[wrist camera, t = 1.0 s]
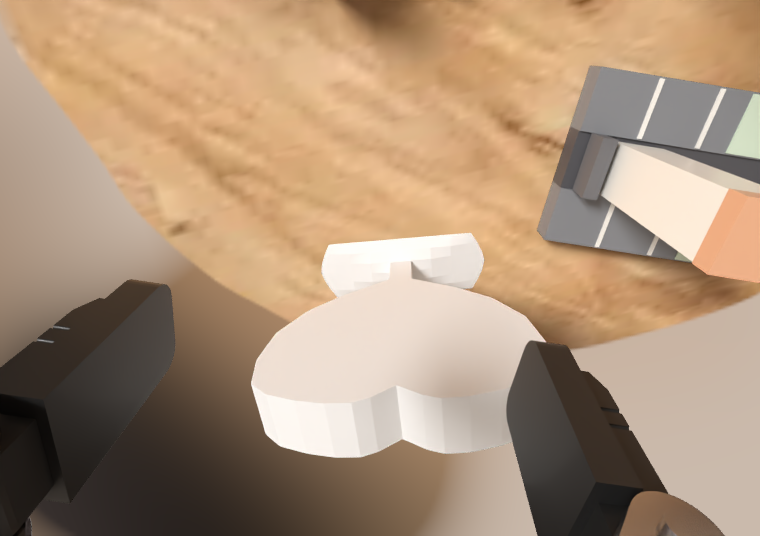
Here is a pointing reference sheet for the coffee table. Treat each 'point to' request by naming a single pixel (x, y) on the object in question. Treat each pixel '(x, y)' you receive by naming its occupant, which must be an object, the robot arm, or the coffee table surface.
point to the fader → (689, 208)
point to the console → (648, 128)
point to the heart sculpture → (394, 354)
